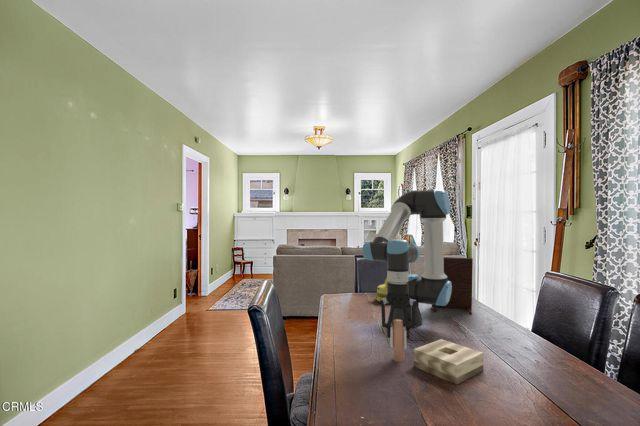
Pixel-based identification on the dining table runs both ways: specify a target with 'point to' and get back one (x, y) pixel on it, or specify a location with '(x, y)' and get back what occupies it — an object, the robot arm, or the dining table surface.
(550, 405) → the dining table surface
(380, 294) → the toy
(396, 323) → the pin
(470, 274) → the dark brown wooden cabinet
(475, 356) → the bore block
